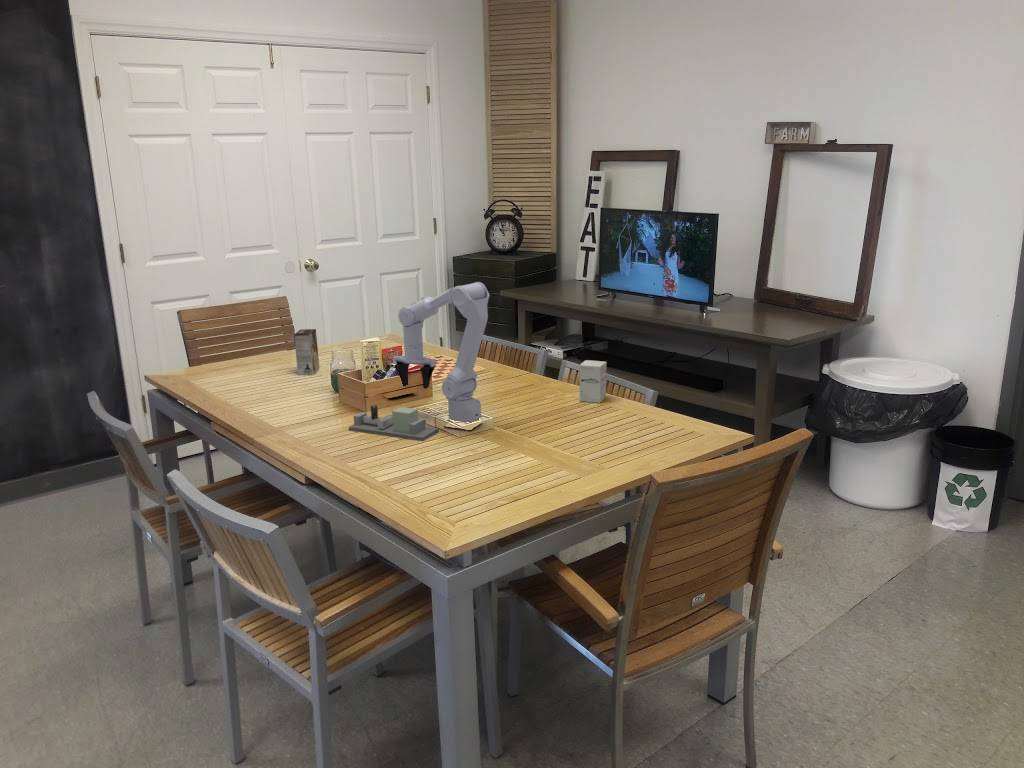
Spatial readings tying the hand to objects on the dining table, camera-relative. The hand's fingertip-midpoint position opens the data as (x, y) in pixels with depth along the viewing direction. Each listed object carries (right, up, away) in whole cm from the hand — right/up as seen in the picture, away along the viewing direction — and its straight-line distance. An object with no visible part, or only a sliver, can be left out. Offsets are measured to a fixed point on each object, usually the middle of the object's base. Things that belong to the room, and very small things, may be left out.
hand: (415, 386), depth 257 cm
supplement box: (+57, -5, +15) cm, 59 cm away
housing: (-1, -13, -14) cm, 19 cm away
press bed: (-5, -13, -12) cm, 19 cm away
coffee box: (-48, +5, +58) cm, 75 cm away
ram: (-11, -11, -10) cm, 18 cm away
